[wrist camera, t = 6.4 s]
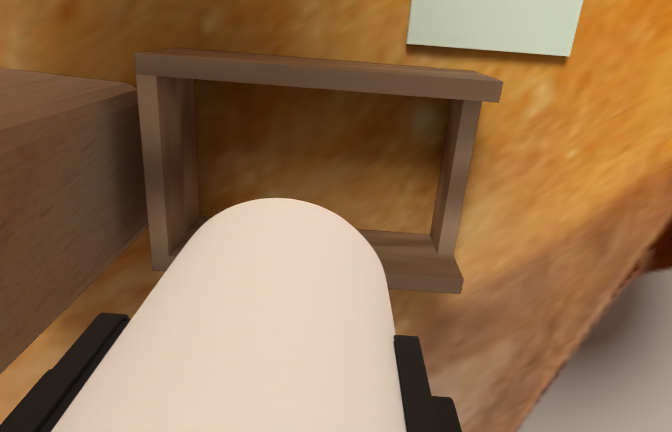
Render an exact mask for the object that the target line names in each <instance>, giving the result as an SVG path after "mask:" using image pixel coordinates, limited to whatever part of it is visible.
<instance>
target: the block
mask: <svg viewBox="0 0 672 432" xmlns="http://www.w3.org/2000/svg"><path fill="white" fill-rule="evenodd" d="M147 224H148V211H147V200H146V188H145V176H144V165H143V153H142V141H141V130H140V118H139V106H138V94H137V88H135V87H134V86H132V85H130V84H128V83H124V82H116V81H107V80H99V79H91V78H82V77H74V76H65V75H57V74H48V73H40V72H31V71H23V70H15V69H6V68H0V374H1V373H2V372H3V371H4V370H5V369H6V368H7V367H8V366H9V365H10V364H11V363H12V362H13V361H14V360H15V359H16V358H17V357H18V356H19V355H20V354H21V353H22V352H23V351H24V350H25V349H26V348H27V347H28V346H29V345H30V344H31V343H32V342H33V341H34V340H35V339H36V338H37V337H38V336H39V335H40V334H41V333H42V332H43V331H44V330H45V329H46V328H47V327H48V326H49V325H50V324H51V323H52V322H53V321H54V320H55V319H56V318H57V317H58V316H59V315H60V314H61V313H62V312H63V311H64V310H65V309H66V308H67V307H68V306H69V305H70V304H71V303H72V302H73V301H74V300H75V299H76V298H77V297H78V296H79V295H80V294H81V293H82V292H83V291H84V290H85V289H86V288H87V287H88V286H89V285H90V284H91V283H92V282H93V281H94V280H95V279H97V278H98V277H99V276H100V275H101V274H102V273H103V272H104V271H105V270H106V269H107V268H108V267H109V266H110V265H111V264H112V263H113V262H114V261H115V260H116V259H117V258H118V257H119V256H120V255H121V254H122V253H123V252H124V251H125V250H126V249H127V248H128V247H129V246H130V245H131V244H132V243H133V242H134V241H135V240H136V239H137V238H138V237H139V236H140V235H141V234H142V233H143V232H144V231H145V229H146V227H147Z"/></svg>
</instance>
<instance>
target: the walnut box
mask: <svg viewBox="0 0 672 432" xmlns="http://www.w3.org/2000/svg"><path fill="white" fill-rule="evenodd" d="M134 59H135V71H136V83H137V94H138V106H139V118H140V130H141V141H142V153H143V165H144V176H145V188H146V200H147V211H148V223H149V235H150V246H151V258H152V270H155V271H167V269H168V268H169V266H170V265H171V264H172V262H173V261H174V260H175V258H176V257H177V256H178V254H179V253H180V252H181V250H182V249H183V247H184V246H185V245H186V244H187V242H188V241H189V240H190V238H191V237H192V236H193V235H194V234H195V232H196V231H197V230H198V229H199V228H200V227H201V226H202V225H203V224H204V223H206V222H207V221H208V220H209V219H211V218H207V217H200V211H199V187H198V162H197V138H196V113H195V88H194V79H202V80H214V81H227V82H240V83H253V84H266V85H279V86H291V87H304V88H317V89H330V90H343V91H356V92H369V93H381V94H394V95H407V96H420V97H433V98H446V99H452V102H451V108H450V115H449V121H448V127H447V133H446V139H445V145H444V152H443V158H442V164H441V170H440V176H439V182H438V189H437V195H436V201H435V207H434V213H433V219H432V226H431V232H430V235H426V234H413V233H400V232H387V231H374V230H361V229H356V230H357V231H358V232H359V233H360V234H361V235H362V236H363V237H364V238H365V239H366V240H367V241H368V243H369V244H370V245H371V247H372V248H373V249H374V251H375V252H376V254H377V256H378V258H379V260H380V262H381V264H382V267H383V270H384V273H385V277H386V282H387V287H388V289H399V290H412V291H425V292H438V293H451V294H461V290H462V285H463V280H464V279H463V277H462V274H461V272H460V270H459V268H458V265H457V263H456V261H455V259H454V256H453V254H454V248H455V243H456V238H457V232H458V227H459V221H460V216H461V211H462V205H463V200H464V195H465V189H466V184H467V178H468V173H469V168H470V162H471V157H472V151H473V146H474V141H475V135H476V130H477V125H478V119H479V114H480V108H481V103H482V101H484V102H497V103H499V100H500V95H501V90H502V85H503V82H502V81H500V80H497V79H494V78H491V77H489V76H486V75H483V74H481V73H478V72H475V71H469V70H456V69H444V68H431V67H418V66H405V65H392V64H379V63H366V62H354V61H341V60H328V59H315V58H302V57H289V56H277V55H264V54H251V53H238V52H225V51H212V50H199V49H187V48H170V49H162V50H154V51H146V52H138V53H134Z"/></svg>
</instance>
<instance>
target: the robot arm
mask: <svg viewBox="0 0 672 432" xmlns="http://www.w3.org/2000/svg"><path fill="white" fill-rule="evenodd" d="M129 322H130V319H129V317H128V315H126V314H112V313H100V314H99V315H98V316H97V317H96V318H95V319H94V321H93V322H92V323H91V324H90V325H89V327H88V328H87V329H86V330H85V331H84V332H83V334H82V335H81V336H80V337H79V338H78V339H77V341H76V342H75V343H74V344H73V345H72V346H71V348H70V349H69V350H68V351H67V352H66V354H65V355H64V356H63V357H62V358H61V359H60V361H59V362H58V363H57V364H56V365H55V366H54V368H53V369H50V370H49V371H47V372H46V373H45V374H44V375H43V376H42V377H41V379H40V380H39V381H38V382H37V383H36V384H35V385H34V387H33V388H32V389H31V390H30V391H29V392H28V394H27V395H26V396H25V397H24V398H23V399H22V401H21V402H20V403H19V404H18V405H17V406H16V408H15V409H14V410H13V411H12V412H11V413H10V414H9V416H8V417H7V418H6V419H5V420H4V421H3V423H2V424H1V425H0V432H51V431H52V430H53V428H54V427H55V425H56V424H57V423H58V421H59V420H60V418H61V417H62V416H63V414H64V413H65V411H66V410H67V409H68V407H69V406H70V404H71V403H72V402H73V400H74V399H75V397H76V396H77V395H78V393H79V392H80V390H81V389H82V388H83V386H84V385H85V383H86V382H87V381H88V379H89V378H90V376H91V375H92V374H93V372H94V371H95V369H96V368H97V367H98V365H99V364H100V362H101V361H102V360H103V358H104V357H105V355H106V354H107V353H108V351H109V350H110V348H111V347H112V346H113V344H114V343H115V341H116V340H117V339H118V337H119V336H120V334H121V333H122V332H123V330H124V329H125V327H126V326H127V325H128V323H129ZM393 343H394V350H395V357H396V363H397V370H398V377H399V383H400V390H401V397H402V404H403V411H404V418H405V424H406V431H407V432H462V431H461V427H460V423H459V420H458V416H457V412H456V409H455V405H454V402H453V400H452V399H451V398H450V397H438V396H431V392H430V387H429V383H428V378H427V373H426V369H425V364H424V360H423V355H422V351H421V346H420V341H419V338H418V337H417V336H404V335H394V342H393Z"/></svg>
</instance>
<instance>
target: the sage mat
mask: <svg viewBox="0 0 672 432" xmlns="http://www.w3.org/2000/svg"><path fill="white" fill-rule="evenodd" d="M582 4H583V0H411V5H410V13H409V21H408V30H407V38H406V44H416V45H429V46H442V47H455V48H468V49H481V50H494V51H506V52H519V53H532V54H545V55H558V56H570V52H571V48H572V44H573V40H574V36H575V32H576V28H577V24H578V20H579V16H580V12H581V8H582Z"/></svg>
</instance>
